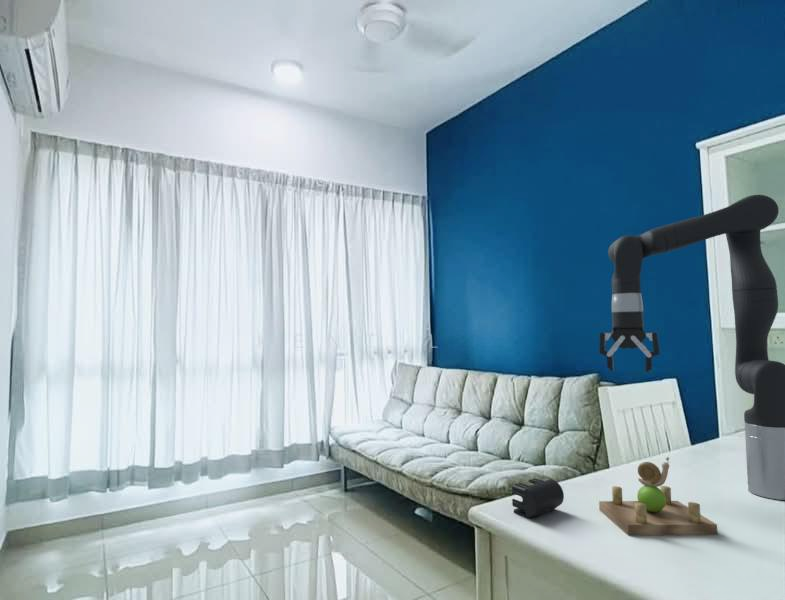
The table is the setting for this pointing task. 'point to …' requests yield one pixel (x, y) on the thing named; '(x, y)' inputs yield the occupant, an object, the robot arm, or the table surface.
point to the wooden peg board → (656, 516)
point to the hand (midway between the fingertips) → (629, 371)
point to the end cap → (537, 497)
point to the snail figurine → (652, 485)
